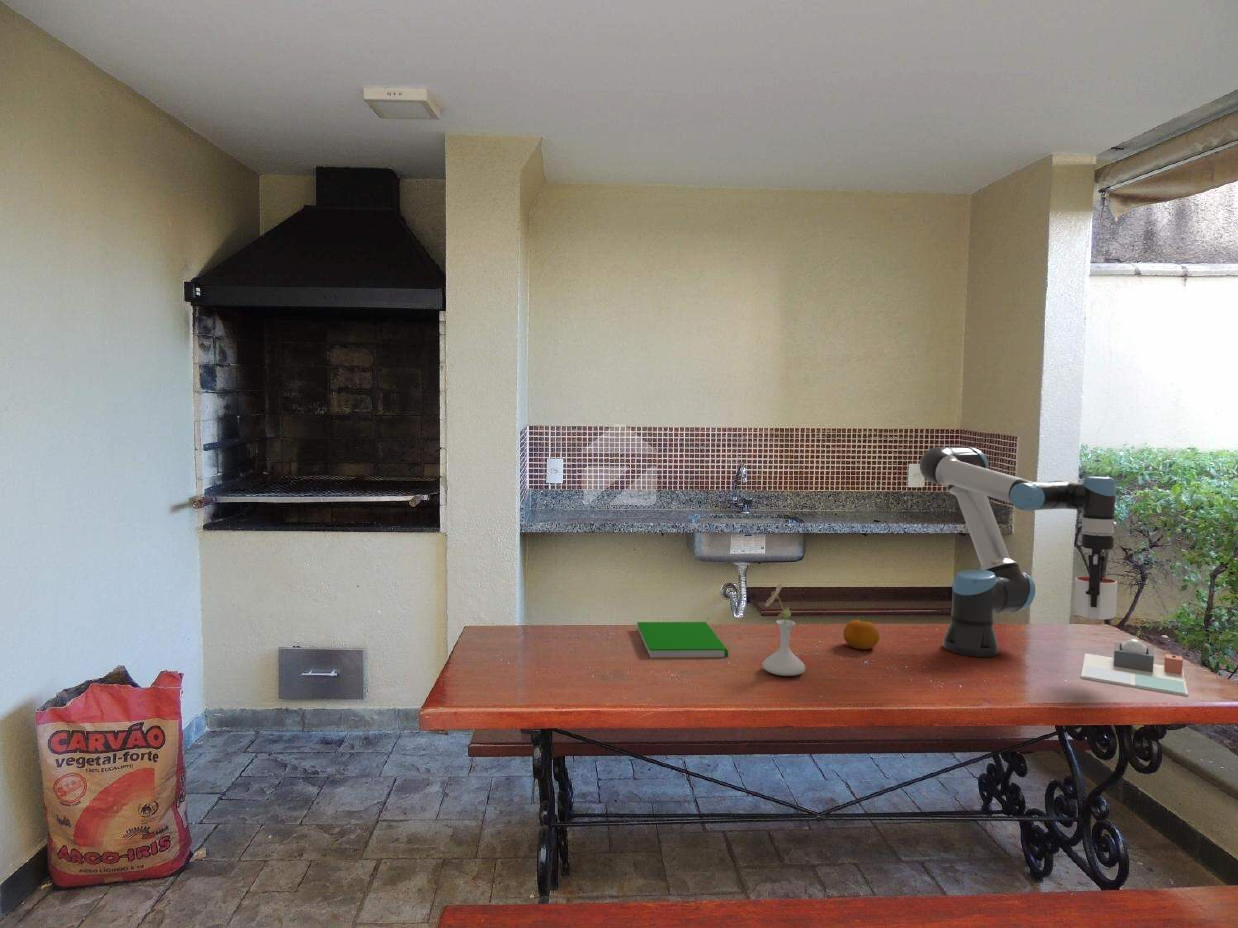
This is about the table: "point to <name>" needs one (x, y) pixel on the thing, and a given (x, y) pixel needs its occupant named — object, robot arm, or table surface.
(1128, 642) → the dome button
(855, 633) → the fruit
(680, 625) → the book
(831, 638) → the table surface
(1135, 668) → the dome housing
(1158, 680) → the game board
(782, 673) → the flower in vase
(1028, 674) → the table surface
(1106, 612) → the cup
